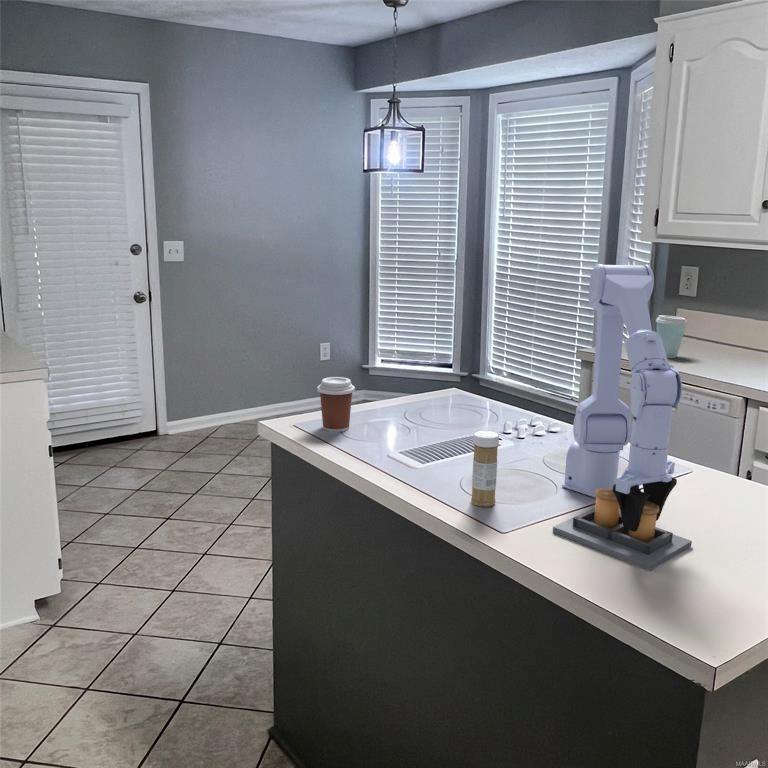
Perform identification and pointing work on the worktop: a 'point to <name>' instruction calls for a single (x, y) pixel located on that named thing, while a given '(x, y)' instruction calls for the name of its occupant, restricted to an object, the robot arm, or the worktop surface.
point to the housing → (623, 541)
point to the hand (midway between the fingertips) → (641, 523)
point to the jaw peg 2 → (646, 523)
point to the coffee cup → (336, 403)
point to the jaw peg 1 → (606, 508)
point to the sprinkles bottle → (484, 468)
